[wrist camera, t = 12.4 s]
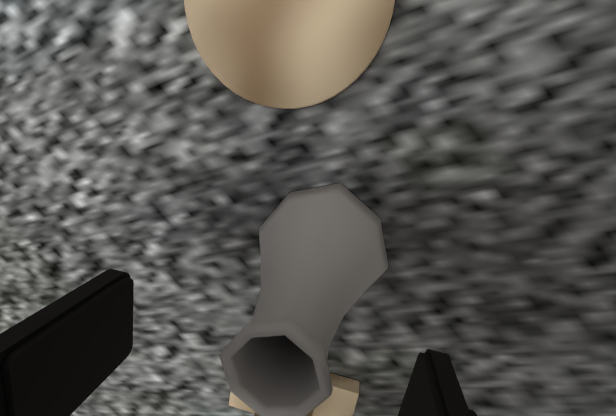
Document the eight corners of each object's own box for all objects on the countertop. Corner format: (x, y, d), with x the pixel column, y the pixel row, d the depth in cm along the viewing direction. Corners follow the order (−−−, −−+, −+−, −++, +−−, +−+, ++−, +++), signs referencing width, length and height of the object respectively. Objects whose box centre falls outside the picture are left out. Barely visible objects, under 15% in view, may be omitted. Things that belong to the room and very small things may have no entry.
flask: (302, 317, 20) (242, 494, 11) (240, 219, 19) (113, 318, 10) (410, 271, 18) (454, 440, 9) (347, 159, 17) (318, 209, 8)
